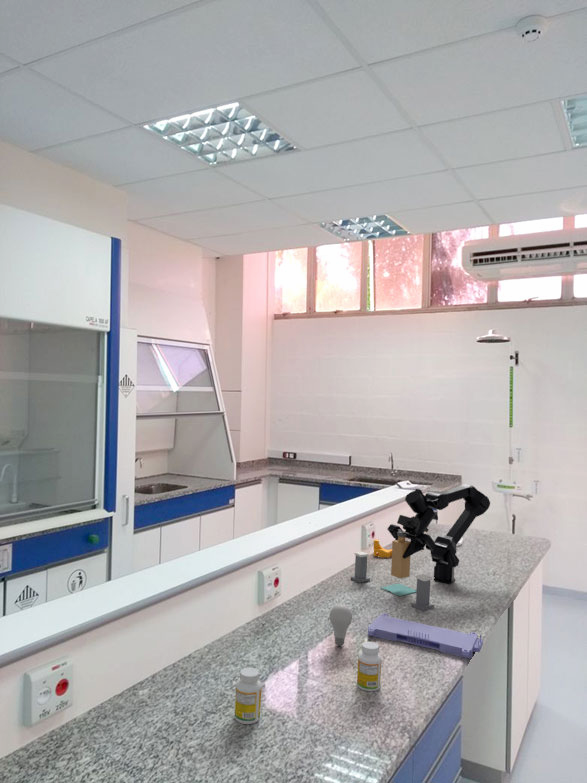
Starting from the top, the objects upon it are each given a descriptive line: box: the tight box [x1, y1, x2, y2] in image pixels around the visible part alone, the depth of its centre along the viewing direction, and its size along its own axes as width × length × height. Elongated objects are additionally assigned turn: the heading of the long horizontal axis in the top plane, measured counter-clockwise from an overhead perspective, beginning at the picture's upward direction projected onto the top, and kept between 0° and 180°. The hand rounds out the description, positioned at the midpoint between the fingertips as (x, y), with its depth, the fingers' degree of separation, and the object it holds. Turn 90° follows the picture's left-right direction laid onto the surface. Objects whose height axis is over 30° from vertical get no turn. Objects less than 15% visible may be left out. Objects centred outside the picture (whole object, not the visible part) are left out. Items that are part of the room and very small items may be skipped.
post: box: [410, 573, 435, 611], centre depth 194 cm, size 5×5×10 cm
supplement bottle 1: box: [234, 667, 263, 725], centre depth 124 cm, size 5×5×10 cm
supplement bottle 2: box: [356, 641, 382, 692], centre depth 140 cm, size 5×5×10 cm
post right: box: [350, 551, 371, 584], centre depth 218 cm, size 5×5×10 cm
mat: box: [380, 583, 417, 597], centre depth 209 cm, size 9×9×1 cm
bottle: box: [390, 531, 411, 579], centre depth 209 cm, size 4×4×15 cm
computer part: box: [367, 612, 484, 660], centre depth 168 cm, size 30×4×15 cm
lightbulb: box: [328, 604, 353, 647], centre depth 161 cm, size 6×6×11 cm
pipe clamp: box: [372, 538, 392, 559], centre depth 252 cm, size 12×4×6 cm, turn 85°
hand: (398, 556), depth 208 cm, fingers closed on bottle, 4 cm apart
